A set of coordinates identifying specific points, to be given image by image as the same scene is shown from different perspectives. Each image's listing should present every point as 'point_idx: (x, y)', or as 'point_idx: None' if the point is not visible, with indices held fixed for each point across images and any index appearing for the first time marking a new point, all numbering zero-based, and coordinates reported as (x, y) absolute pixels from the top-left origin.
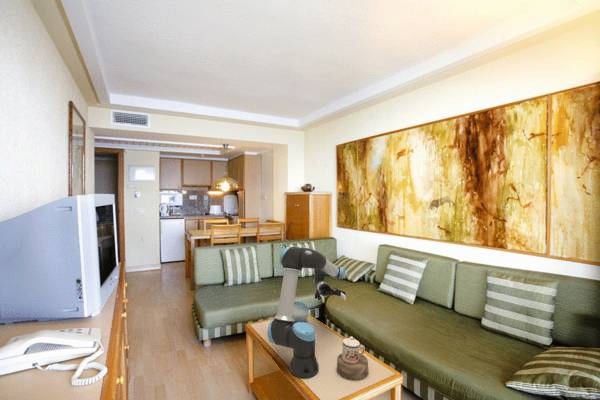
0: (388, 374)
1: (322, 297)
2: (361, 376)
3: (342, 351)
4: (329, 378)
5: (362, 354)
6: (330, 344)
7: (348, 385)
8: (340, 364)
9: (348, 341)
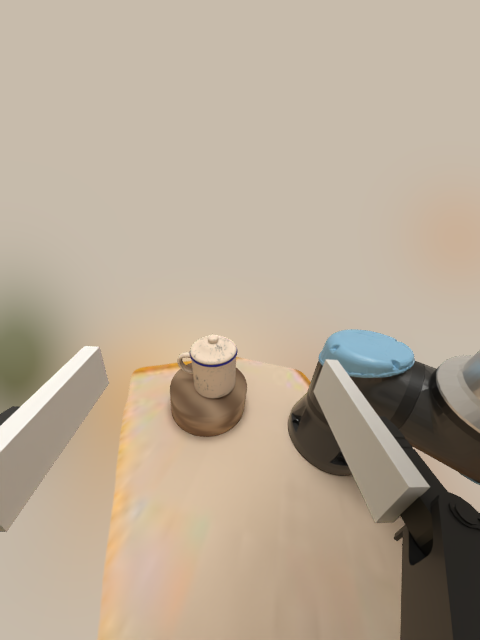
0: (144, 375)
1: (347, 374)
2: None
3: (234, 373)
4: (266, 393)
5: (185, 367)
6: (208, 633)
7: None
8: (243, 377)
9: (224, 340)
